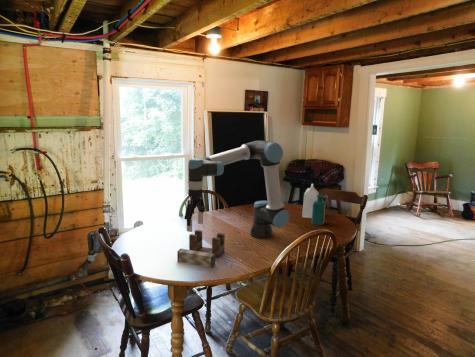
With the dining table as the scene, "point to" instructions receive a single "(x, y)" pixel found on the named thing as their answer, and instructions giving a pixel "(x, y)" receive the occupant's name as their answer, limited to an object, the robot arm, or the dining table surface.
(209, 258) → the rail
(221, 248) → the brown u-shaped block
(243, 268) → the dining table surface
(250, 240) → the dining table surface
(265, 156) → the robot arm
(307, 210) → the milk
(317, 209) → the teal green bottle
